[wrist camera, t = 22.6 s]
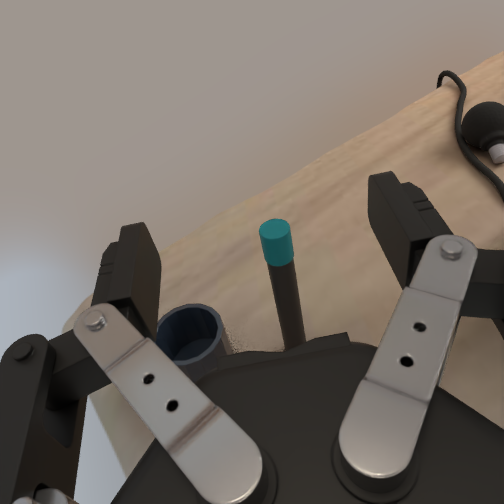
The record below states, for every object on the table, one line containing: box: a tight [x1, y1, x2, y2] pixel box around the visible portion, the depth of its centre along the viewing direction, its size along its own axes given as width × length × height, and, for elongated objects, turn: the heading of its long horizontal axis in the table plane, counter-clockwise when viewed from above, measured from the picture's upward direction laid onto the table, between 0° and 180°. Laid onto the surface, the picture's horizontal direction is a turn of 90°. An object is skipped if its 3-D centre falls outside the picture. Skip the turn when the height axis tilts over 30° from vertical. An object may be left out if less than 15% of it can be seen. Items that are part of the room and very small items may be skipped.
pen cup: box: [154, 304, 234, 383], centre depth 42 cm, size 7×7×6 cm
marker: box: [259, 219, 306, 351], centre depth 38 cm, size 2×2×16 cm
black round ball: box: [461, 102, 504, 163], centre depth 61 cm, size 6×6×10 cm
